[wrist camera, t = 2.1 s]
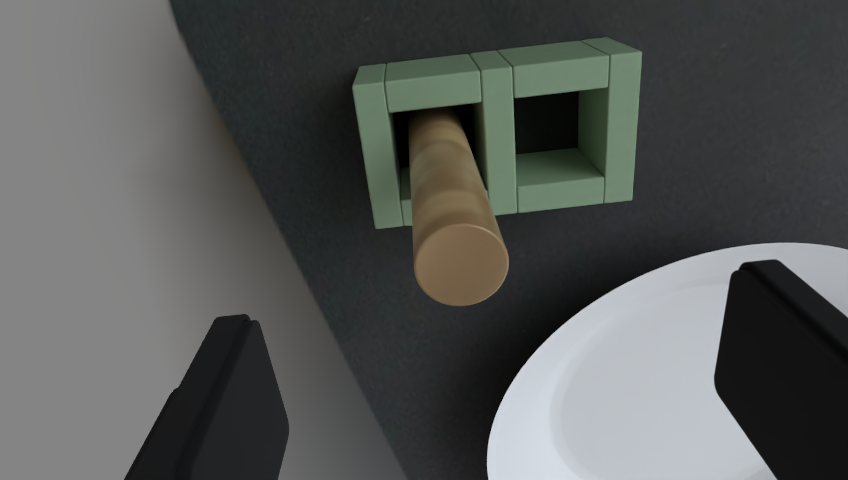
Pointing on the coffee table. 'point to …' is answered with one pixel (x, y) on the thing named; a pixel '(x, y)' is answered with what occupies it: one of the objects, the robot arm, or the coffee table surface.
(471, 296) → the stick
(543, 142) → the coffee table surface
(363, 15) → the coffee table surface
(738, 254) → the white plate
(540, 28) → the coffee table surface
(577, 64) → the holder
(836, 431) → the robot arm
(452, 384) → the coffee table surface
